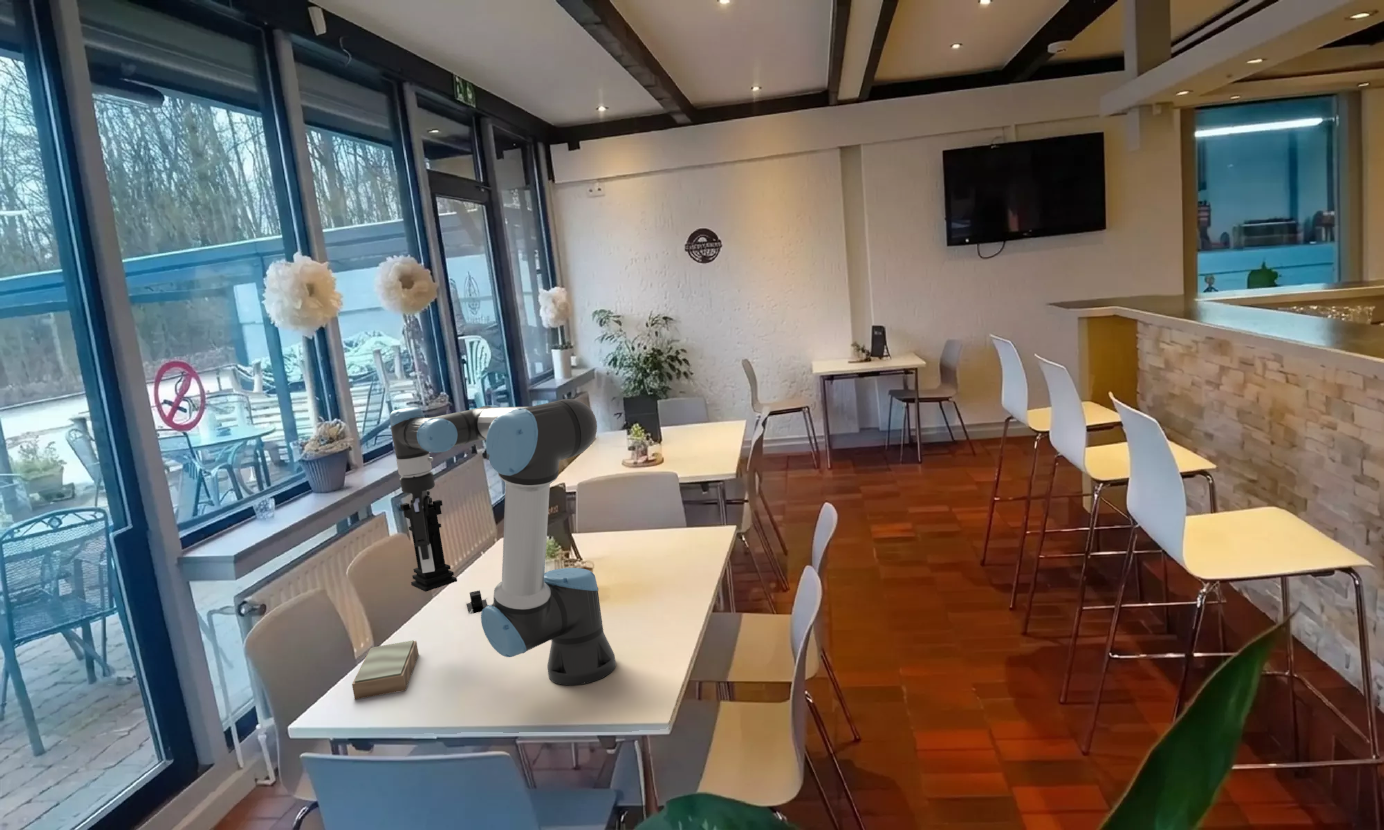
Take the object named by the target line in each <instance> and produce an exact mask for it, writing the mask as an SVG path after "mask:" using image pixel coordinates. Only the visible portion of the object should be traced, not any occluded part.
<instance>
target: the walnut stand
mask: <svg viewBox="0 0 1384 830" xmlns="http://www.w3.org/2000/svg"><path fill="white" fill-rule="evenodd" d="M418 657H419V648H418V642H417V640H415V639H414V640H407V641H402V642H397V643H395V642H394V643H391V644H384V645H379V646H373V647H370V648H369V650H368V652H367V654H366V656H365V658H364V659H363V662H362V664H361V666H360V668H359V669H358V671H357V674H356V676H355V678H354V679H353V681H352V683H351V687H352V692H353V696H354V700H361V699H366V698H371V697H375V696H376V697H377V696H381V695H388V694H393V693H399V692H405V691H406V690H407V688H408V685H409V682H410V679H411V677H412V674H413V671H414V668H415V665H416V663H417V661H418Z"/></svg>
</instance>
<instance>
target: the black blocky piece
mask: <svg viewBox="0 0 1384 830" xmlns="http://www.w3.org/2000/svg"><path fill="white" fill-rule="evenodd" d="M469 599H470V602H468V603H467V602H466V609H467V612H468V615H471V614H477V613H482V610H483V609H484V608H485V607H486V606H487V605H488V602H487V599H483V597H482V594H481V591H480V589H479V590H474V591H470V592H469Z"/></svg>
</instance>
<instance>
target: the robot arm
mask: <svg viewBox="0 0 1384 830" xmlns="http://www.w3.org/2000/svg"><path fill="white" fill-rule="evenodd" d="M423 411H424V410H423V409H422V408H421V407H417V406H414V407H413V406H412V407H406V408H405V407H404V408H400V409H395V410H393V411H391V413H390V414H389V423H390V427H389V428H390V430H391V436H392V441H393V446H394V452H395V457H396V458H395V460H396V467H397V472H398V475H399V476H400V478H399V482H400V489H401V492H402V493H404V494H411V495H412V498H411V500H410V503H409V505H410V507H411V511H412V517H413V525H414V533H415V541H416V543H415V544H414V543H413V548H414V547H418V549H419V555H420V561H421V566H422V572H423V573H427V572H433V571H435V568H434V562H433V556H432V550H431V544H429V536H428V524H427V518H426V517H427V516H428V508H430V504H431V503H430V498H431V492H430V490H432V489H434V488H435V486H436V484H435V477H434V473H433V472H432V471H431V470H432V468H433V467H432V462H433V461H434V458H433V457H430V453H433V454H439V453H445V452H447V451H450V450H451V449H452V448H454V447H458V446H461V445H466V444H469V443H473V442H474V443H475V442H478V441H485V448H486V454H487V455H489V456H488V462H489V463H490V465H491V466H492V469H494V470H495V471H496V472H497V473H498V475H497V476H498V477H499V478H500V479H501V480H502V481H503V482H504V483H505V488H504V489H505V491H504V492H505V493H504V494H505V495H504V513H503V518H504V519H503V520H504V521H503V542H502V563H501V565H502V569H501V570H502V571H501V581H500V582H499V583H498V584H497V585H496V586H495V587H494V590H493V602H492V604H487V606H486V607H485V608H484V609H483V610H482V612H480V621H481V627H482V629H483V632H484V636H485V637H486V639H487V641H488V642H489V644H490V646H491V647H492V648H493V649H494V651H496V653H498V654H499V655H501V656H503V657H504V658H505V657H506V658H513V657H516V656H518V655H519V656H520V655H521V654H525V653H526V652H528V651H531V650H532V649H535V648H536V647H538V646H541V645H543V644H545V643H547V642H549V641H551V644H550V649H549V655H548V660H547V669H546V670H547V675H548V678H549V680H550V681H551V682H553V683H556V684H558V685H562V686H563V685H564V686H579V685H585V684H589V683H592V682H596V681H598V680H601V679H603V678H605V677H606V676H608V675H610V674H611V673H613V671H614V670H615V668H616V665H617V662H616V655H615V653H614V650H613V649H612V646H611V645H610V641H608V639H607V637H606V634H605V632H604V625H603V620H602V612H601V604H600V603H601V602H600V597H599V596H600V595H599V586H598V584H597V583H598V582H597V578H596V576H595V573H594V572H593V571H591V570H589V569H585V568H580V567H564V568H563V567H562V568H555V569H551V570H547V571H545V570H546V555H547V538H548V522H549V509H550V508H549V507H550V506H549V503H550V492H551V491H550V488H551V487H550V486H551V484H553V482H555V481H556V480H557V479H558V477H559V469H560V462H561V461H564V460H567V459H570V458H573V457H576V456H578V455H580V454H582V453H584V452H585V451H586V450H587V449H588V448H589V447H591V445H592V444H593V442H594V440H595V438H596V435H597V431H598V423H597V422H598V421H597V418H596V416H595V415H596V414H595V413H594V411H593V410H592V408H591V407H589V406H588V405H587V404H586V403H584V402H582V401H581V400H577V399H574V398H563V399H558V400H555V401H550V402H546V403H541V404H536V405H532V406H507V407H504V406H503V407H500V406H499V405H495V404H491V405H483V406H480V407H476V408H472V409H469V410H468V409H467V410H463V411H457V412H453V413H452V412H451V413H447V414H443V415H438V416H432V417H425V414H424V412H423ZM424 509H425V510H426V509H427V510H426V511H425V513H424V511H423V510H424ZM421 539H424V540H421Z"/></svg>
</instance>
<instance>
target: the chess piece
mask: <svg viewBox="0 0 1384 830" xmlns="http://www.w3.org/2000/svg"><path fill="white" fill-rule="evenodd" d="M430 503H431V504H430V508H428V516H427V517H426V518H427V524H428V536H429V544H431V550H432V556H433V562H434V568H435V571H433V572H427V573H423V572H422V566H421V561H420V555H419V549H418V547H414V546H413V548H414V552H415V554H414V555H415V558H416V565H417V567H416V568H413V573H415V574H413V575H411V576H412V580H413V581H411V582H410V583H411V586H412V587H414V588H416V589H418V590H421V591H423V592H425V593H427V592H429V591H433V590H436V589H439V588H441V587H444V586H447V585H450V584H454V583H456V582H458V578H457V577H455V573H454V571H452V570H451V565H449V564H447V563H446V562H445V561H446V560H445V554H444V549H443V543H442V536H441V530H440V528H442V524H441V523H440V522H439V518H438V516H439V515H442V514H443V513H442V508H441V507H442V506H443V500H441V499H436V500H433V498H432V497H430ZM399 505H400V510H401V511H403V515H404V518H405V519H408V520H409V523H410V526H408V531H411V534H412V535H411V536H412V542H413V545H414V544H415V543H416V541H415V533H414V525H413V517H412V511H411V507H410V503H408V502H405V503H401V504H399ZM426 510H427V509H426ZM426 510H425V509H424V510H423V511H424V513H425V511H426ZM421 540H424V539H421Z"/></svg>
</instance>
